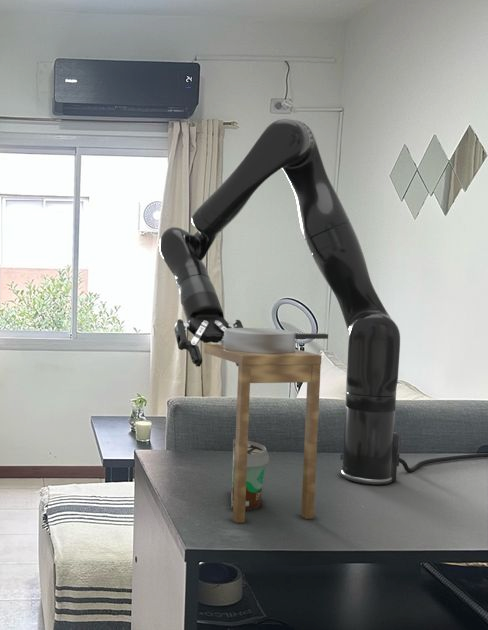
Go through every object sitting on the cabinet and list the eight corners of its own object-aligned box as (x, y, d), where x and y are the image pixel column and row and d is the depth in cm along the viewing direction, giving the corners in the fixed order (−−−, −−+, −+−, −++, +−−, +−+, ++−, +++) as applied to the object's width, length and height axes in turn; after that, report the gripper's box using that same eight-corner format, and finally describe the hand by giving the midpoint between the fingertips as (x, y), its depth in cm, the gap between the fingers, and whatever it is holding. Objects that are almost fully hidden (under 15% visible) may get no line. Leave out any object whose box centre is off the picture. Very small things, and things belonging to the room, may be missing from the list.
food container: (269, 516, 125) (271, 457, 125) (231, 512, 126) (234, 455, 126) (265, 494, 137) (267, 440, 137) (231, 491, 139) (233, 438, 138)
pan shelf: (297, 488, 141) (304, 327, 139) (345, 517, 126) (353, 335, 123) (199, 492, 137) (204, 326, 135) (236, 523, 122) (243, 335, 119)
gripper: (172, 289, 152) (191, 352, 141) (237, 290, 154) (260, 352, 144) (163, 313, 157) (180, 375, 147) (226, 313, 160) (247, 375, 150)
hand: (220, 364), depth 145 cm, fingers open, 8 cm apart
